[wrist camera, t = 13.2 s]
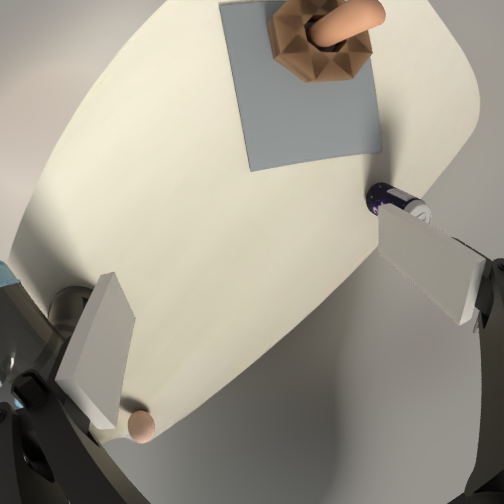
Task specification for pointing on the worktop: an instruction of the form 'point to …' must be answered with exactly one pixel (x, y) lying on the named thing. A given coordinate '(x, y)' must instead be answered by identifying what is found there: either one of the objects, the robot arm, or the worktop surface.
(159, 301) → the worktop surface
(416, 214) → the beverage can
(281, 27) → the bead
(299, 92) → the mat
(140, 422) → the egg
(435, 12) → the worktop surface
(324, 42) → the tan round-topped peg
